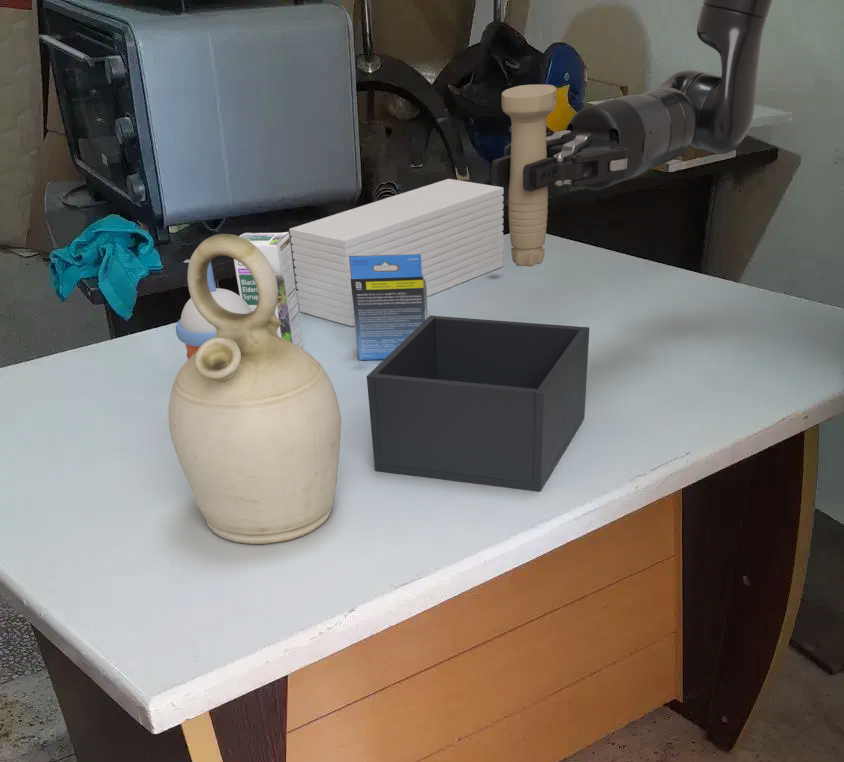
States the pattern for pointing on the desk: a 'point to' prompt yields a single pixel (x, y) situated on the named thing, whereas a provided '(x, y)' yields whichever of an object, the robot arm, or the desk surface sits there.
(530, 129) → the handle
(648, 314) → the desk surface
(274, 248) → the syrup box
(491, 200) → the white rectangular block
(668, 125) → the robot arm
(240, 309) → the cup with straw
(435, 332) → the bin
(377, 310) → the tape cartridge
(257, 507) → the jug
